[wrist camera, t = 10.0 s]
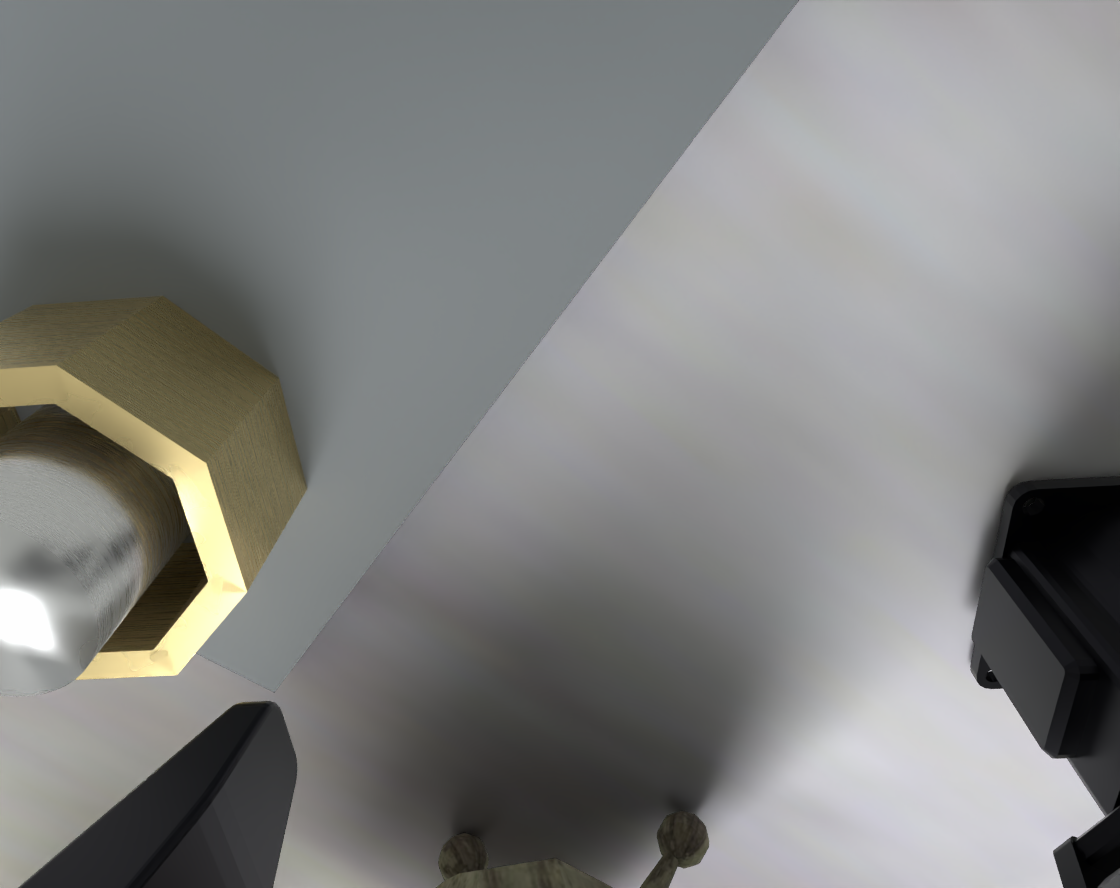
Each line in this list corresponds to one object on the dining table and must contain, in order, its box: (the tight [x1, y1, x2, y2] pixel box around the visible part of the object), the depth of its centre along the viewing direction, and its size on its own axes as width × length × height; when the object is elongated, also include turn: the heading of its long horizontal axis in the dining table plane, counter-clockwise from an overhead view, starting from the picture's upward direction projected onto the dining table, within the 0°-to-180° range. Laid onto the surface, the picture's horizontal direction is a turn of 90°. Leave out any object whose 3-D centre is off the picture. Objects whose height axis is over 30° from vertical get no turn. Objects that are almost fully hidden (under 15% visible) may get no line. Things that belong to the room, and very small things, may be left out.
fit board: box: [0, 0, 799, 697], centre depth 14 cm, size 26×12×7 cm, turn 144°
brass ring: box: [0, 296, 307, 680], centre depth 17 cm, size 7×7×4 cm
